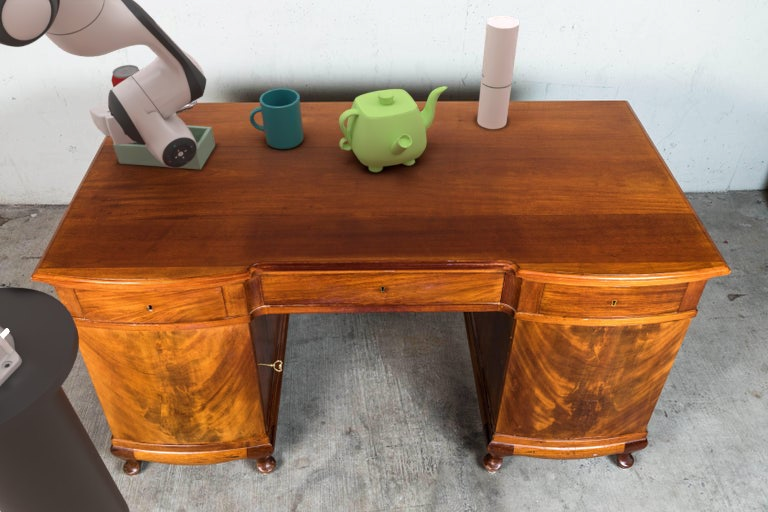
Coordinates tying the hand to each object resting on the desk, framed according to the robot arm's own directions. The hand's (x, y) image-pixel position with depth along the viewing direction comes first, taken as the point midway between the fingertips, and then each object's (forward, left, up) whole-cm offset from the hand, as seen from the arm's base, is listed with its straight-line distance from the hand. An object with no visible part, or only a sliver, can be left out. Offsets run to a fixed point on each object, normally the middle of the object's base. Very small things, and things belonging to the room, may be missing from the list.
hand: (131, 92), depth 143 cm
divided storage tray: (-1, -5, -15) cm, 16 cm away
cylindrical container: (+23, -79, -15) cm, 84 cm away
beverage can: (-1, -1, -7) cm, 7 cm away
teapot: (+3, -58, -15) cm, 60 cm away
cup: (+8, -29, -15) cm, 34 cm away
